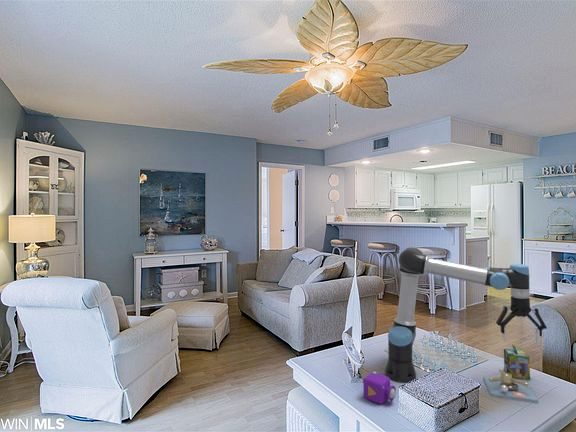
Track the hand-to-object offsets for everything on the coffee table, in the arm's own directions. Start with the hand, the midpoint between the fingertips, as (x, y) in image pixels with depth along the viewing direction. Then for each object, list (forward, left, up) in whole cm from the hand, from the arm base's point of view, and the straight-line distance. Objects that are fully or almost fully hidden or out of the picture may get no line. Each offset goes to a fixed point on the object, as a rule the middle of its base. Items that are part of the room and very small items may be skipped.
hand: (521, 341), depth 160 cm
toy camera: (-63, -33, -22) cm, 74 cm away
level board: (-7, -6, -21) cm, 23 cm away
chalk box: (+1, +13, -22) cm, 25 cm away
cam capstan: (-8, -6, -20) cm, 22 cm away
